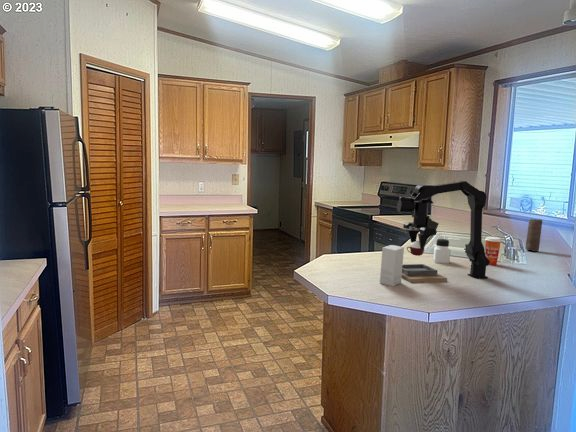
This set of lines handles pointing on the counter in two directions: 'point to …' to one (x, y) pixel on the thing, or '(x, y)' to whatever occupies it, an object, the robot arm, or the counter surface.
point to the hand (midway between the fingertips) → (417, 247)
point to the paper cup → (492, 249)
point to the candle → (533, 234)
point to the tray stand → (421, 273)
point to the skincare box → (391, 265)
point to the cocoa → (416, 248)
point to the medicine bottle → (442, 251)
